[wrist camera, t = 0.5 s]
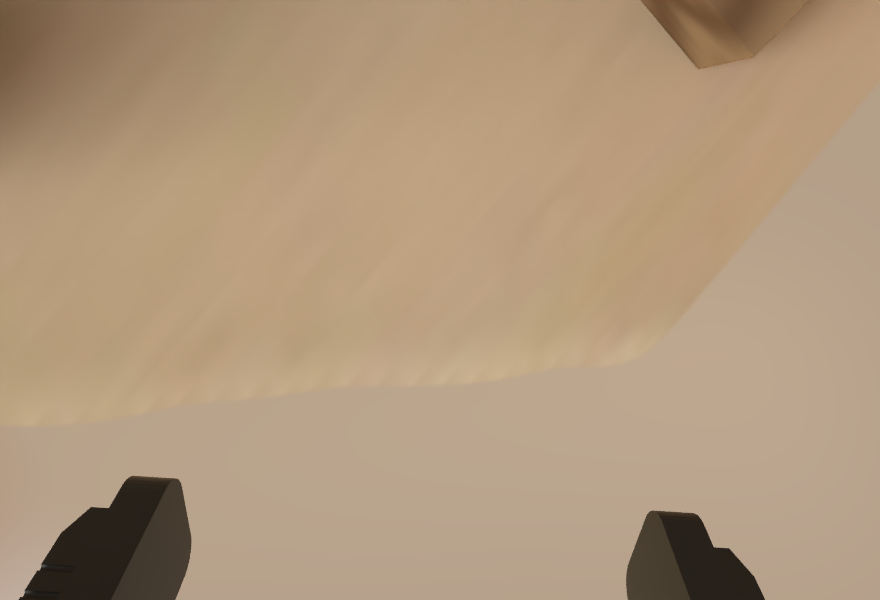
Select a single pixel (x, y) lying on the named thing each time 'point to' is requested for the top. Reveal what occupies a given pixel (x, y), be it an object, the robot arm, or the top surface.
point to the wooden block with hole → (722, 26)
